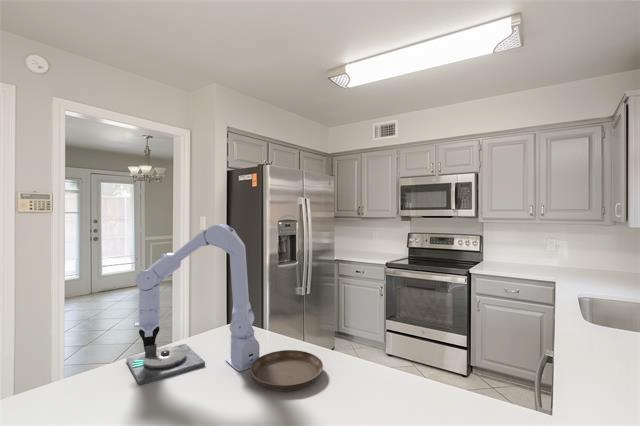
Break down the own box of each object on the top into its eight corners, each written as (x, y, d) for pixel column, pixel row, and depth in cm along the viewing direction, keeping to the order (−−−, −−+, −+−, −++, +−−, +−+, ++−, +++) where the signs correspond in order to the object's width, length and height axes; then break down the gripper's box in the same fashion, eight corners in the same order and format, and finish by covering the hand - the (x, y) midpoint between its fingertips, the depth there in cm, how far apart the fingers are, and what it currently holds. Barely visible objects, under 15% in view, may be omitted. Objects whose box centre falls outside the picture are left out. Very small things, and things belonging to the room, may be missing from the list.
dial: (187, 349, 111) (187, 334, 111) (184, 365, 99) (184, 348, 99) (147, 354, 107) (147, 338, 107) (139, 371, 95) (139, 353, 95)
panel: (204, 365, 102) (205, 360, 102) (139, 385, 90) (139, 379, 90) (185, 347, 116) (185, 342, 116) (126, 362, 104) (126, 357, 104)
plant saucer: (314, 400, 84) (314, 387, 84) (238, 391, 88) (238, 379, 88) (328, 363, 104) (328, 353, 104) (265, 357, 108) (266, 347, 108)
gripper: (135, 303, 107) (135, 345, 107) (132, 316, 94) (132, 364, 94) (160, 301, 110) (160, 342, 111) (160, 313, 97) (160, 359, 98)
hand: (149, 352), depth 103 cm, fingers closed, pressing on dial
